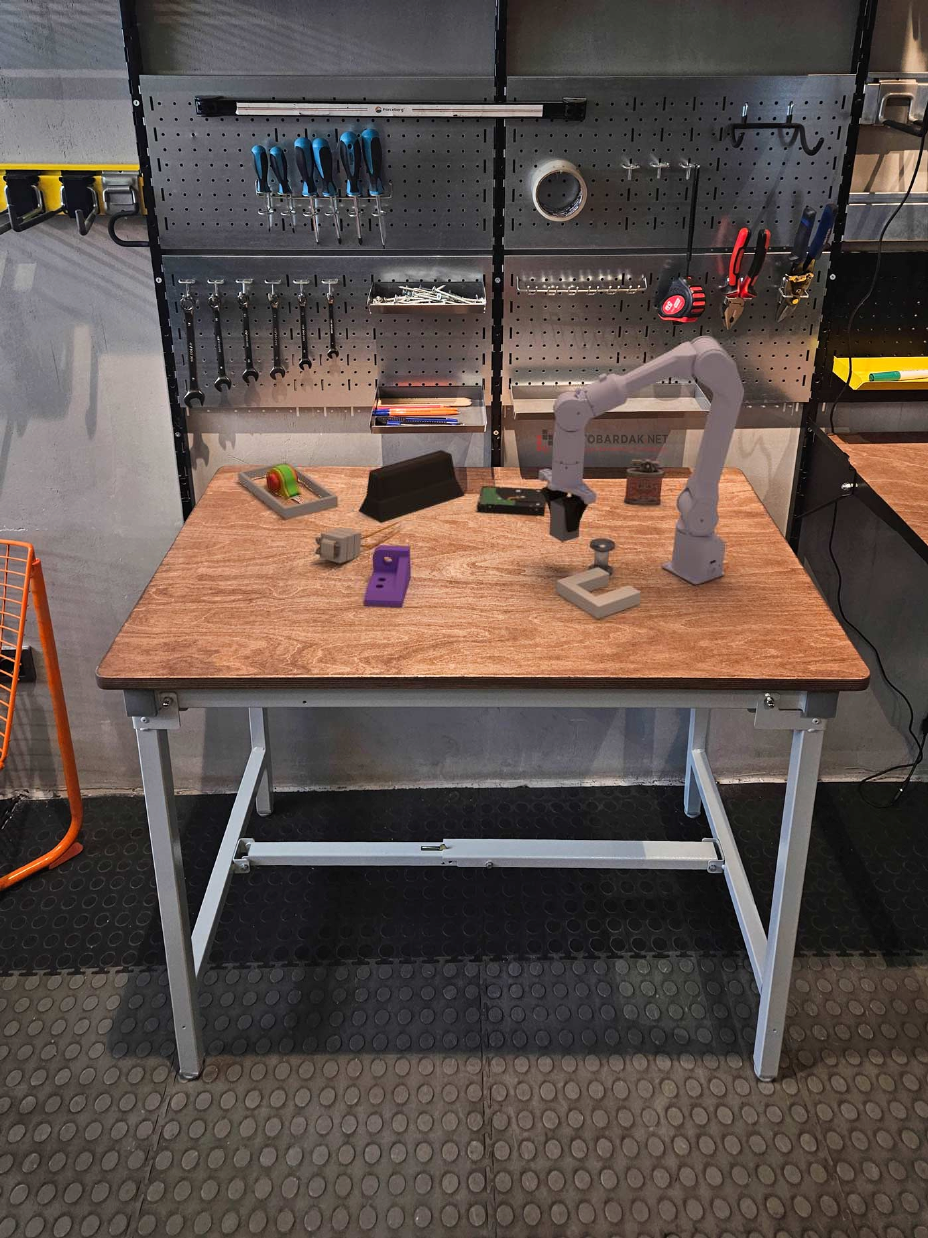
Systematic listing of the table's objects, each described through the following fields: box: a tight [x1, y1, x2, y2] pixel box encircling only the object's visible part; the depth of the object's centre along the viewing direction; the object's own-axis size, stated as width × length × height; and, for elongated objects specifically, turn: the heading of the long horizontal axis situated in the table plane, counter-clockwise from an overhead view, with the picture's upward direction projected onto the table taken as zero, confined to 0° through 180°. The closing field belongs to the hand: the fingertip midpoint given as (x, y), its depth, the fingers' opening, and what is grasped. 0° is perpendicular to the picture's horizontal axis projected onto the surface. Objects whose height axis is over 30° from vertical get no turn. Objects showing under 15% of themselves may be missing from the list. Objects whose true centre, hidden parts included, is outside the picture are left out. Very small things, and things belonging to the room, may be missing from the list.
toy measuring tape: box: [265, 464, 309, 504], centre depth 227 cm, size 6×19×7 cm, turn 42°
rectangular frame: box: [237, 460, 339, 520], centre depth 230 cm, size 26×13×2 cm, turn 34°
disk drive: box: [476, 485, 547, 517], centre depth 225 cm, size 10×3×15 cm
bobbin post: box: [587, 537, 616, 577], centre depth 195 cm, size 5×5×6 cm
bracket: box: [363, 544, 412, 608], centre depth 188 cm, size 12×7×7 cm, turn 175°
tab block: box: [549, 495, 581, 543], centre depth 192 cm, size 4×4×7 cm
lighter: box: [623, 458, 665, 507], centre depth 224 cm, size 8×3×10 cm, turn 84°
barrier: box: [358, 449, 466, 524], centre depth 224 cm, size 24×9×10 cm, turn 130°
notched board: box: [555, 567, 642, 620], centre depth 187 cm, size 12×10×2 cm
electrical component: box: [314, 519, 406, 564], centre depth 206 cm, size 24×6×5 cm, turn 150°
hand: (564, 526), depth 193 cm, fingers closed on tab block, 4 cm apart
